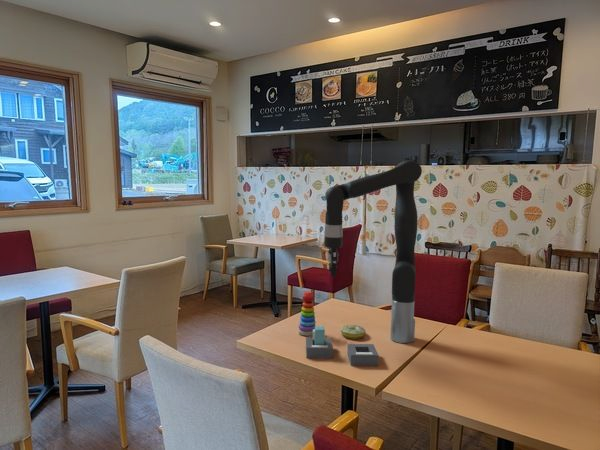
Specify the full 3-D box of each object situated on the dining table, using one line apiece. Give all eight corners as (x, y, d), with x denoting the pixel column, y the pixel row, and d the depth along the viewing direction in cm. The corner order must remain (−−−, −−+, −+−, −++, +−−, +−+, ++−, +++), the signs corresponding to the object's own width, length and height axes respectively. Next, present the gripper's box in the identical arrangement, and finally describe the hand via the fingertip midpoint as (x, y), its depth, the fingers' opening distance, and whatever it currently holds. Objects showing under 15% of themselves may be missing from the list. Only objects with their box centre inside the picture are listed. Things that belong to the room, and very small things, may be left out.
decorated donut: (368, 334, 179) (369, 325, 179) (360, 342, 170) (360, 333, 169) (347, 329, 184) (347, 321, 184) (337, 337, 175) (337, 328, 175)
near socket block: (373, 354, 158) (373, 343, 158) (378, 365, 148) (378, 354, 148) (347, 353, 158) (347, 343, 158) (350, 365, 148) (351, 354, 148)
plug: (323, 350, 161) (323, 326, 160) (324, 354, 157) (324, 329, 156) (312, 350, 161) (312, 326, 160) (312, 354, 157) (313, 329, 156)
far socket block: (330, 347, 164) (330, 337, 164) (332, 358, 154) (333, 347, 154) (305, 347, 164) (305, 337, 163) (306, 358, 154) (306, 347, 154)
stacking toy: (316, 336, 175) (317, 294, 173) (297, 336, 175) (298, 294, 173) (316, 330, 183) (316, 289, 181) (298, 329, 183) (298, 289, 181)
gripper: (344, 238, 161) (343, 278, 163) (340, 233, 175) (339, 270, 177) (325, 237, 161) (324, 278, 163) (323, 233, 175) (322, 270, 177)
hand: (332, 273), depth 170 cm, fingers open, 8 cm apart
